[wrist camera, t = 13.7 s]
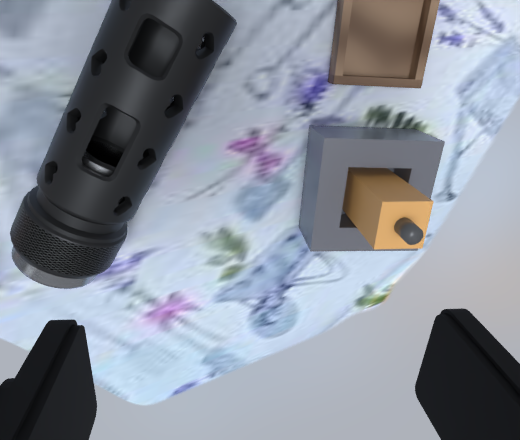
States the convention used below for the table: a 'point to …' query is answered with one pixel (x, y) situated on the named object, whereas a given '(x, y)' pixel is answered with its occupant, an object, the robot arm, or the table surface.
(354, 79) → the tray
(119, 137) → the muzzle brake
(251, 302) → the table surface
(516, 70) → the table surface
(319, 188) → the socket block
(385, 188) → the plug
